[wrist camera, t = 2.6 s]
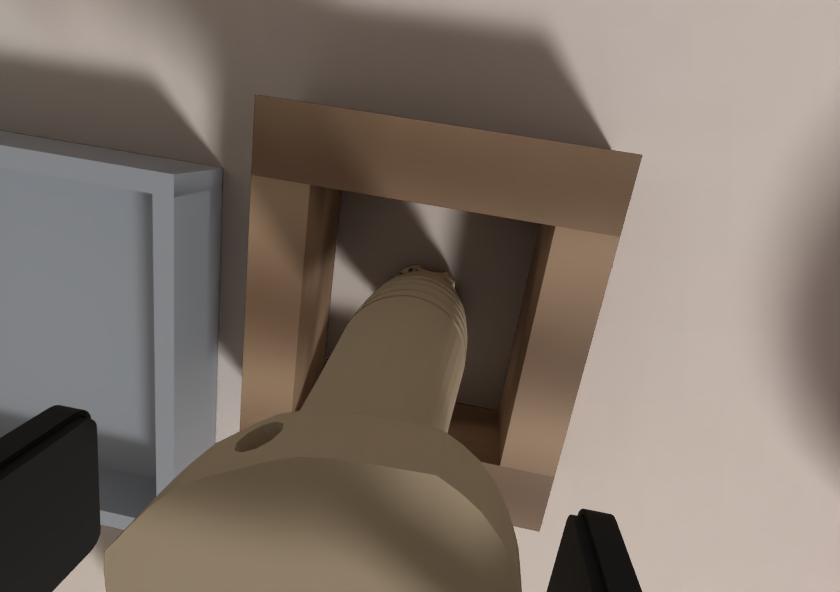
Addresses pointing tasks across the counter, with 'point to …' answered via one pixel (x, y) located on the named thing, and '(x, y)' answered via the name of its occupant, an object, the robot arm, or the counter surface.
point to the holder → (451, 188)
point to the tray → (111, 305)
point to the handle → (341, 477)
